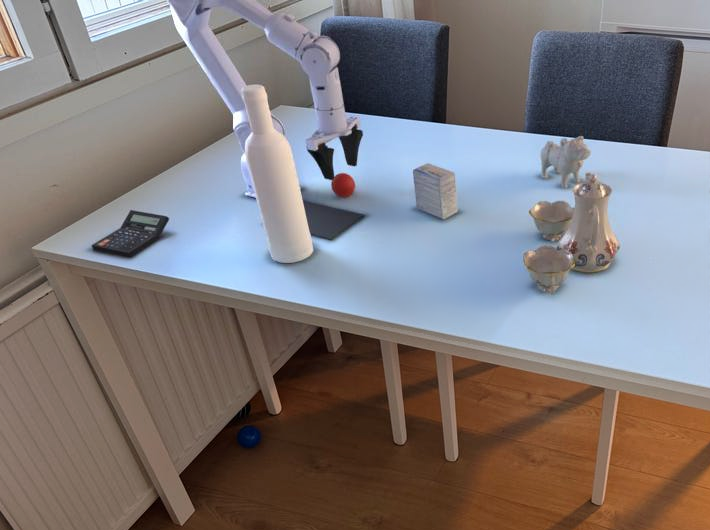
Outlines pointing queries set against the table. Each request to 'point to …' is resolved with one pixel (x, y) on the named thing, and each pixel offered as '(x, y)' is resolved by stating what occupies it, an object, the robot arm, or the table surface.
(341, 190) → the ball
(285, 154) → the bottle
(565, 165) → the dog figurine
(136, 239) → the calculator
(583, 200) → the chinaware
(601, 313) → the table surface
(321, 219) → the mat
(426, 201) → the grey streaked block
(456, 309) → the table surface
